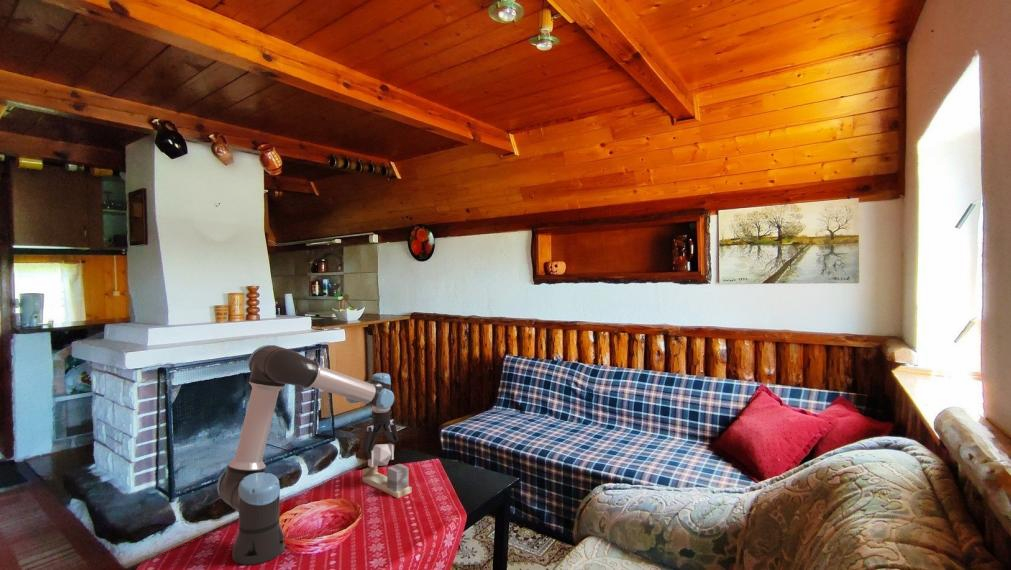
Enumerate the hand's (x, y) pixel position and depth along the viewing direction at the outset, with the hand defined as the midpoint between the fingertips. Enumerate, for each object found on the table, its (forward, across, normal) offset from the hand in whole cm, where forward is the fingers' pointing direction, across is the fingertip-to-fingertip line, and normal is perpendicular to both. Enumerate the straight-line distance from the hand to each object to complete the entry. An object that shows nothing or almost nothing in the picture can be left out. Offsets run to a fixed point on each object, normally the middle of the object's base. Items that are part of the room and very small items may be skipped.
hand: (380, 462), depth 209 cm
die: (+1, 0, 0) cm, 1 cm away
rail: (+9, 0, -4) cm, 10 cm away
